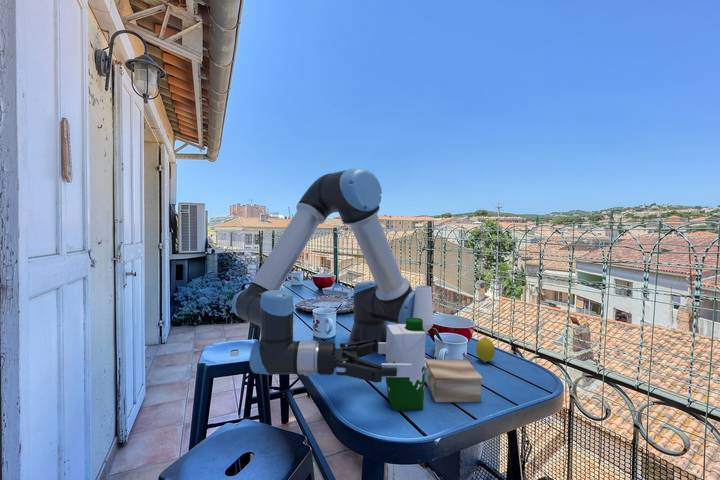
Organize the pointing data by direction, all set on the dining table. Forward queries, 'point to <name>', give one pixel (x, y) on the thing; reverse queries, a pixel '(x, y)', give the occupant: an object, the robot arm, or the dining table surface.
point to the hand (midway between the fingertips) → (407, 358)
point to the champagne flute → (424, 307)
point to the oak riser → (453, 380)
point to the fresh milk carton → (407, 349)
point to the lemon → (485, 349)
